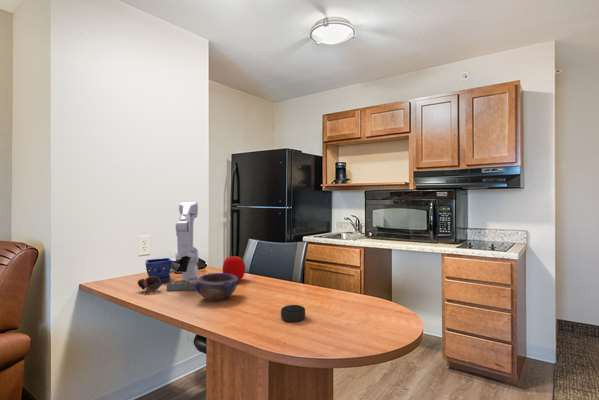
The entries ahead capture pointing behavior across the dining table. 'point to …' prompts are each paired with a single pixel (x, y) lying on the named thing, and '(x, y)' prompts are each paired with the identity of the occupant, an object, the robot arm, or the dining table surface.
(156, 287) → the brown bird figurine
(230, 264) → the tomato
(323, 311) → the dining table surface
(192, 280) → the slate button
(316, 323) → the dining table surface
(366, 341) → the dining table surface
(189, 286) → the panel
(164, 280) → the flower pot
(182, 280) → the peach ball
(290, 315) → the smart speaker
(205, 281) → the bowl
